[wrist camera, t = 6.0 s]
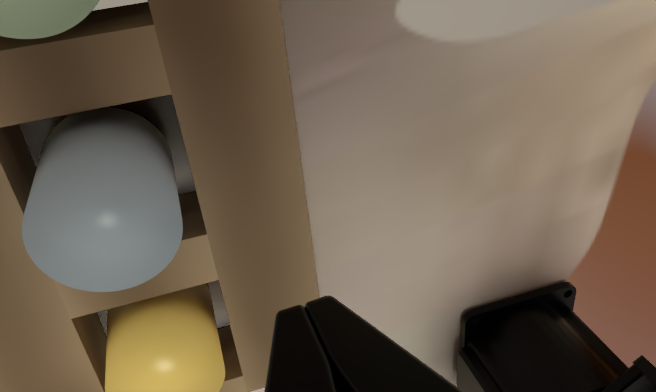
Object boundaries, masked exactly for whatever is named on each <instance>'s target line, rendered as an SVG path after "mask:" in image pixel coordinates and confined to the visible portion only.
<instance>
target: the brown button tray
mask: <svg viewBox="0 0 656 392" xmlns="http://www.w3.org/2000/svg"><path fill="white" fill-rule="evenodd" d="M170 94H172V98H173V102H174V106H175V110H176V114H177V118H178V122H179V125H180V129H181V133H182V137H183V141H184V145H185V149H186V153H187V157H188V161H189V165H190V169H191V173H192V177H193V181H194V185H195V189H196V192H192V193H188V194H183V195H179V196H178V197H179V203H180V209H181V215H182V221H183V234H182V240H181V243H180V246H179V249H178V251H177V253H176V255H175V256H174V258H173V259H172V261H171V262H170V263H169V264H168V265H167V267H166V268H164V269H163V270H162V271H161V272H160V273H159V274H157V275H156V276H155V277H153V278H152V279H150V280H148V281H146V282H144V283H142V284H140V285H137V286H135V287H132V288H128V289H124V290H120V291H112V292H91V291H84V290H79V289H75V288H72V287H68V286H66V285H64V284H61V283H59V282H57V281H55V280H54V279H52V278H50V277H49V276H48V275H46V274H45V273H43V272H42V271H41V270H40V269H39V268H38V267H37V266H36V265H35V263H34V262H33V261H32V259H31V258H30V256H29V254H28V253H27V251H26V248H25V245H24V243H23V237H22V221H23V216H24V212H25V209H26V205H27V201H28V198H29V194H30V191H31V187H32V183H33V180H34V176H35V173H36V167H35V164H34V162H33V160H32V157H31V155H30V152H29V150H28V148H27V145H26V143H25V141H24V138H23V136H22V133H21V131H20V129H19V126H18V124H21V123H26V122H32V121H37V120H42V119H47V118H52V117H57V116H62V115H68V114H73V113H78V112H83V111H88V110H93V109H98V108H103V107H109V106H114V105H119V104H124V103H129V102H134V101H139V100H145V99H150V98H155V97H160V96H165V95H170ZM217 280H219V283H220V287H221V291H222V295H223V299H224V303H225V307H226V311H227V315H228V319H229V323H230V326H227V327H224V328H220V329H217V330H218V335H219V340H220V345H221V350H222V356H223V361H224V366H225V379H224V382H223V385H222V387H221V389H220V391H219V392H250V391H254V390H257V389H260V388H263V387H265V385H266V378H267V371H268V365H269V358H270V351H271V344H272V337H273V330H274V323H275V317H276V314H277V312H278V311H280V310H283V309H286V308H290V307H293V306H296V305H303V306H304V307H305V304H306V303H307V302H309V301H312V300H315V299H318V298H319V291H318V284H317V277H316V269H315V262H314V254H313V247H312V239H311V232H310V225H309V217H308V210H307V202H306V195H305V188H304V180H303V173H302V165H301V158H300V150H299V143H298V136H297V128H296V121H295V113H294V106H293V98H292V91H291V84H290V76H289V69H288V61H287V54H286V47H285V39H284V32H283V24H282V17H281V9H280V2H279V0H148V2H144V3H138V4H133V5H126V6H120V7H114V8H107V9H102V10H95V11H91V12H90V13H89V15H88V16H87V17H86V18H85V19H83V20H82V21H81V22H80V23H78V24H77V25H76V26H74V27H72V28H70V29H68V30H67V31H64V32H62V33H59V34H57V35H54V36H49V37H45V38H37V39H16V38H8V37H3V36H0V392H105V371H106V343H107V337H106V335H105V332H104V330H103V327H102V325H101V323H100V320H99V318H98V315H97V313H96V312H99V311H103V310H107V309H111V308H114V307H118V306H122V305H126V304H130V303H133V302H137V301H141V300H145V299H149V298H152V297H156V296H160V295H164V294H167V293H171V292H175V291H179V290H183V289H186V288H190V287H194V286H198V285H202V284H205V283H209V282H213V281H217Z"/></svg>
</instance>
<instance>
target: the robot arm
mask: <svg viewBox="0 0 656 392" xmlns="http://www.w3.org/2000/svg"><path fill="white" fill-rule="evenodd" d="M575 295H576V288H575V287H574V286H573V285H572V284H571V283H570V282H563V283H560V284H556V285H553V286H550V287H546V288H543V289H540V290H537V291H533V292H530V293H527V294H523V295H520V296H517V297H513V298H510V299H507V300H503V301H500V302H497V303H493V304H490V305H487V306H483V307H480V308H477V309H473V310H470V311H468V312H466V313H465V314H464V315H463V317H462V320H461V344H460V349H459V352H458V363H457V384H458V386H459V389H458V388H457V387H456V386H454V385H453V384H452V383H450V382H449V381H448V380H446V379H445V378H443V377H442V376H441V375H439V374H438V373H437V372H435V371H434V370H432V369H431V368H430V367H428V366H427V365H426V364H424V363H423V362H421V361H420V360H419V359H417V358H416V357H415V356H413V355H412V354H410V353H409V352H408V351H406V350H405V349H404V348H402V347H401V346H400V345H398V344H397V343H395V342H394V341H393V340H391V339H390V338H389V337H387V336H386V335H384V334H383V333H382V332H380V331H379V330H378V329H376V328H375V327H373V326H372V325H371V324H369V323H368V322H367V321H365V320H364V319H362V318H361V317H360V316H358V315H357V314H356V313H354V312H353V311H352V310H350V309H349V308H347V307H346V306H345V305H343V304H342V303H341V302H339V301H338V300H336V299H335V298H334V297H332V296H324V297H321V298H318V299H315V300H312V301H309V302H307V303H306V304H305V307H304V306H303V305H296V306H293V307H290V308H286V309H283V310H280V311H278V312H277V314H276V317H275V323H274V330H273V337H272V344H271V351H270V358H269V365H268V371H267V378H266V385H265V392H656V368H655V367H654V366H653V365H652V364H651V363H650V362H649V361H648V360H646V358H644V356H642V355H641V356H640V357H639V358H637V359H636V360H635V361H634V362H633V364H634V365H632V366H631V367H630V368H628V367H627V366H626V365H625V364H624V363H623V362H622V361H621V360H620V359H619V358H618V357H617V356H616V355H615V354H614V353H613V352H612V351H611V350H610V349H609V348H608V347H607V346H606V345H605V344H604V343H603V342H602V341H601V340H600V338H598V336H597V335H596V334H595V333H594V332H593V331H592V330H591V329H589V327H588V326H587V325H586V324H585V323H584V322H582V320H581V319H580V318H579V317H578V316H577V315H576V314H575V313H574V312H573V306H574V300H575Z"/></svg>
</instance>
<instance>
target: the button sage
mask: <svg viewBox="0 0 656 392" xmlns="http://www.w3.org/2000/svg"><path fill="white" fill-rule="evenodd" d="M98 1H99V0H0V36H3V37H8V38H16V39H37V38H45V37H49V36H54V35H57V34H59V33H62V32H64V31H67V30H68V29H70V28H72V27H74V26H76V25H77V24H78V23H80V22H81V21H82V20H83V19H85V18H86V17H87V16H88V15H89V13H90V12H91V11H92V10H93V9H94V7H95V6H96V5H97V3H98Z"/></svg>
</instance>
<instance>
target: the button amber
mask: <svg viewBox="0 0 656 392" xmlns="http://www.w3.org/2000/svg"><path fill="white" fill-rule="evenodd" d="M224 379H225V366H224V361H223V356H222V350H221V345H220V340H219V335H218V330H217V325H216V320H215V315H214V310H213V305H212V300H211V295H210V291H209V289H208V287H207V285H206V284H202V285H198V286H194V287H190V288H186V289H183V290H179V291H175V292H171V293H167V294H164V295H160V296H156V297H152V298H149V299H145V300H141V301H137V302H133V303H130V304H126V305H122V306H118V307H114V308H111V309H108V315H107V343H106V371H105V392H219V391H220V389H221V387H222V385H223V382H224Z"/></svg>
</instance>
